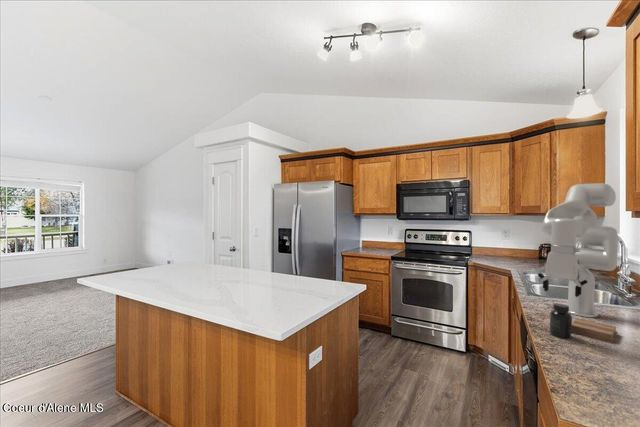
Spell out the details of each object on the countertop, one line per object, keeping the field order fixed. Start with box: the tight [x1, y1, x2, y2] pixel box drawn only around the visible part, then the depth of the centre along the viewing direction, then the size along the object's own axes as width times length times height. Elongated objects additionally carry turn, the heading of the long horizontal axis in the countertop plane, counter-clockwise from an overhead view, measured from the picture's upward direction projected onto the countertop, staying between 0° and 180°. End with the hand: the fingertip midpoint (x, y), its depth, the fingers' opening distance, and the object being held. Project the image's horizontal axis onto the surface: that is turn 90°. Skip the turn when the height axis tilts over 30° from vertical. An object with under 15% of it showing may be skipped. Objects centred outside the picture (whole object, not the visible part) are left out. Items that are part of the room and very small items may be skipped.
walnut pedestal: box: [571, 317, 618, 344], centre depth 121 cm, size 13×13×3 cm
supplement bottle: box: [549, 303, 573, 340], centre depth 119 cm, size 7×7×12 cm
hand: (561, 293), depth 118 cm, fingers open, 9 cm apart
